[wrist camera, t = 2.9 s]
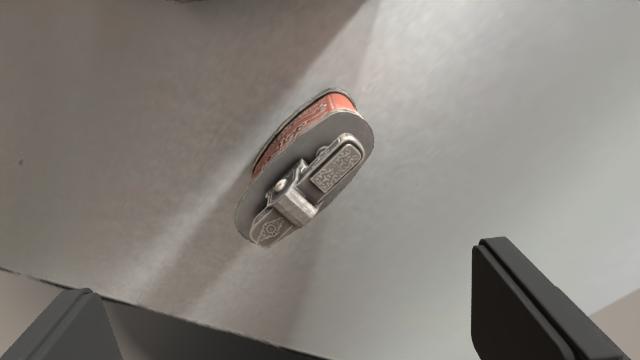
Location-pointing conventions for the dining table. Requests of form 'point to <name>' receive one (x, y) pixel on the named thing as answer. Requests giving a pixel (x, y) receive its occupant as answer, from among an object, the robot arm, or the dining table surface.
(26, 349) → the robot arm
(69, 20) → the dining table surface
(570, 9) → the dining table surface
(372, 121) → the dining table surface
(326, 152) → the lighter
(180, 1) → the holder
